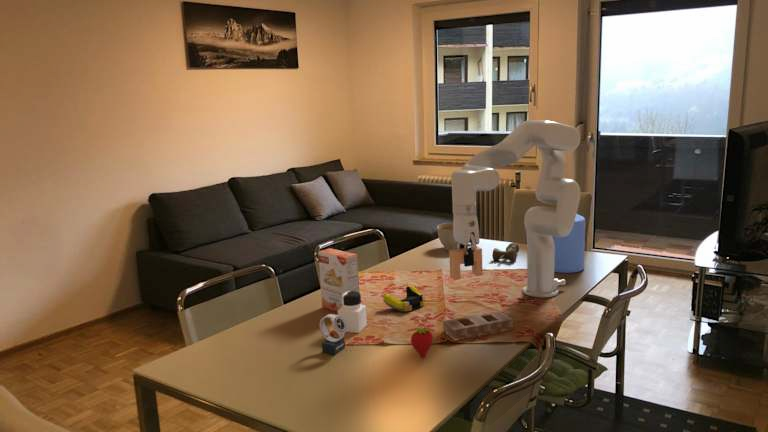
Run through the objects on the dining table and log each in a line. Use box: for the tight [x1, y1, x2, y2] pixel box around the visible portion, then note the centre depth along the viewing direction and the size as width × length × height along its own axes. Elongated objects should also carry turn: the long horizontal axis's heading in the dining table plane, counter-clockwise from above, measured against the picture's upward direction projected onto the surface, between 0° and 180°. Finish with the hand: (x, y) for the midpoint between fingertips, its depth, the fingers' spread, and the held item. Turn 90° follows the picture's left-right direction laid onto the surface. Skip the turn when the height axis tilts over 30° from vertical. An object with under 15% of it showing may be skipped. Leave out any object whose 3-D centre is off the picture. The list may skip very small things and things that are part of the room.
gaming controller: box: [382, 285, 426, 313], centre depth 216 cm, size 15×6×10 cm
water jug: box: [552, 213, 586, 274], centre depth 249 cm, size 16×16×28 cm
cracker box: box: [317, 247, 360, 313], centre depth 214 cm, size 14×6×21 cm, turn 47°
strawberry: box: [410, 322, 433, 358], centre depth 175 cm, size 6×8×10 cm
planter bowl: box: [436, 222, 457, 252], centre depth 287 cm, size 16×16×11 cm
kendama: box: [491, 242, 520, 264], centre depth 268 cm, size 6×10×20 cm
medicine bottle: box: [337, 291, 368, 334], centre depth 198 cm, size 7×7×12 cm
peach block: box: [448, 246, 484, 281], centre depth 201 cm, size 10×4×9 cm, turn 110°
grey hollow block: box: [442, 310, 514, 339], centre depth 192 cm, size 20×8×4 cm, turn 109°
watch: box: [319, 313, 347, 356], centre depth 182 cm, size 6×8×11 cm
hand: (466, 263), depth 201 cm, fingers closed on peach block, 3 cm apart
